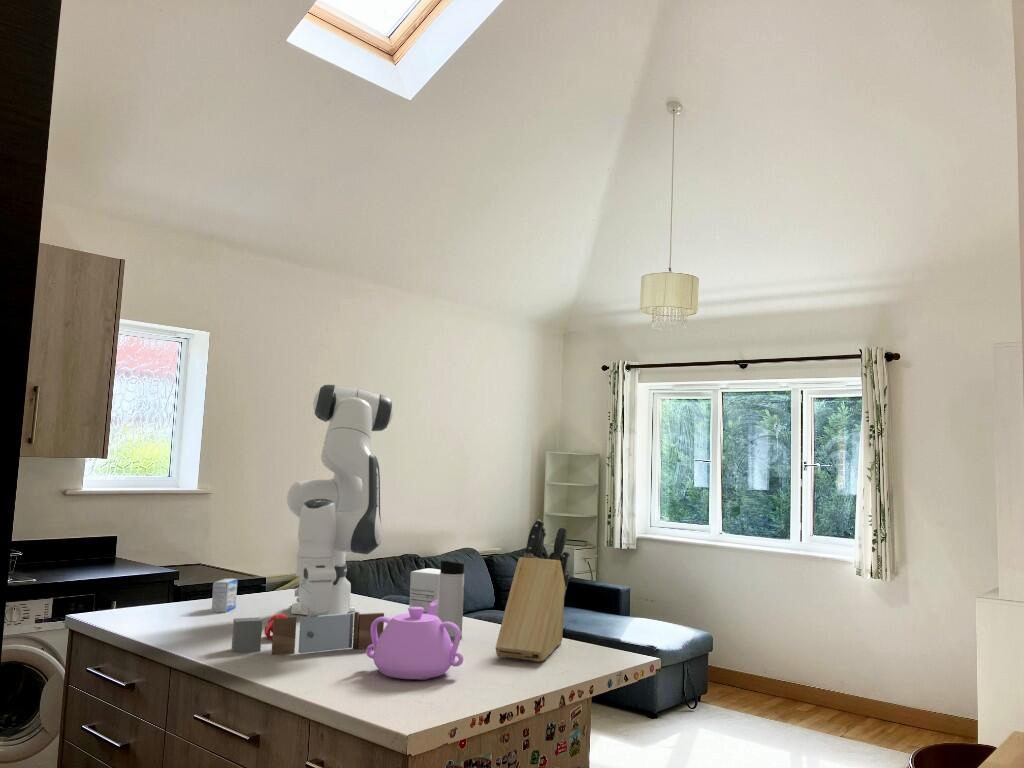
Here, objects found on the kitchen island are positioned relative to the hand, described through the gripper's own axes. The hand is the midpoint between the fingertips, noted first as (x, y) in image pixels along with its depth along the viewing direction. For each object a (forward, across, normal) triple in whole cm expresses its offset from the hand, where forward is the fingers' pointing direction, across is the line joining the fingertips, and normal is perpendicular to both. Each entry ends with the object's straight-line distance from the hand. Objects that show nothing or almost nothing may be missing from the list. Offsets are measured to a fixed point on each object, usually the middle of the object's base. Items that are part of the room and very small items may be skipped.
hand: (312, 627), depth 189 cm
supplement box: (+6, -21, +37) cm, 43 cm away
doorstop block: (+5, -5, -14) cm, 16 cm away
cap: (+6, -16, -5) cm, 18 cm away
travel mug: (+6, -3, +36) cm, 37 cm away
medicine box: (+6, -58, -14) cm, 60 cm away
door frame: (+5, +1, +3) cm, 6 cm away
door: (+5, +2, +3) cm, 6 cm away
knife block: (+6, +12, +53) cm, 55 cm away
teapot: (+6, +25, +18) cm, 31 cm away
